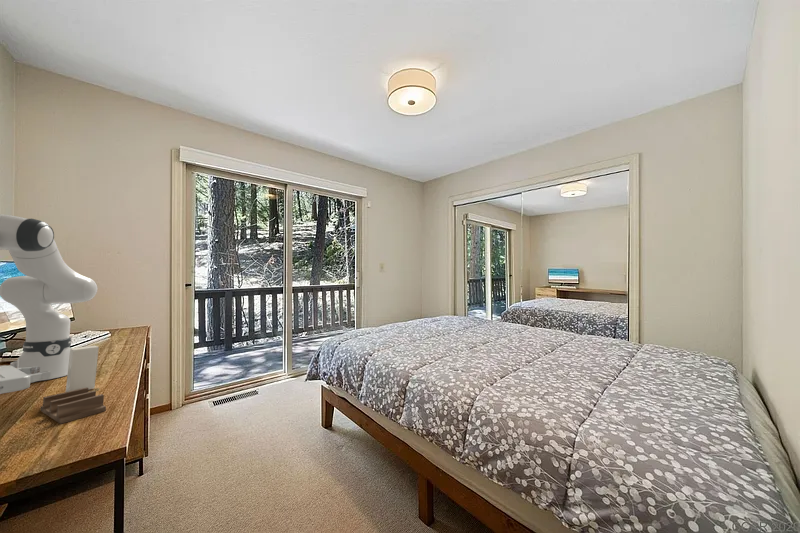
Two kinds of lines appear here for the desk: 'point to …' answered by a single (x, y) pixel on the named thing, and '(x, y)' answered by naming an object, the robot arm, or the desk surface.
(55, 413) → the drying rack
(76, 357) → the clay bar
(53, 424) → the desk surface
